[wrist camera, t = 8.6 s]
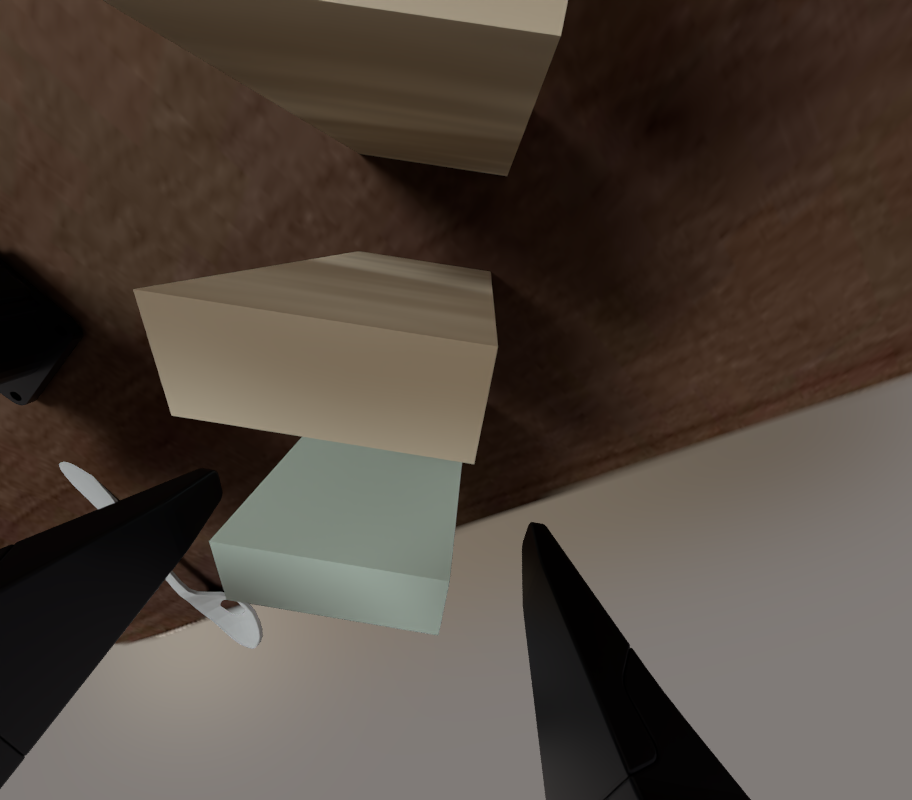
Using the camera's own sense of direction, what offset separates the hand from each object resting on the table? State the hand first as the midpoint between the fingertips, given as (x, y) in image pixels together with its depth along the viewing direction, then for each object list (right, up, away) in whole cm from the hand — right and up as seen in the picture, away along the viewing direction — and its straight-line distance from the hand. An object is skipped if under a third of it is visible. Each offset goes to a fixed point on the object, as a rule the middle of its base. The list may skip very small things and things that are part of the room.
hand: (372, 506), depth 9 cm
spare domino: (0, +3, +6) cm, 7 cm away
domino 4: (+1, +7, +3) cm, 8 cm away
